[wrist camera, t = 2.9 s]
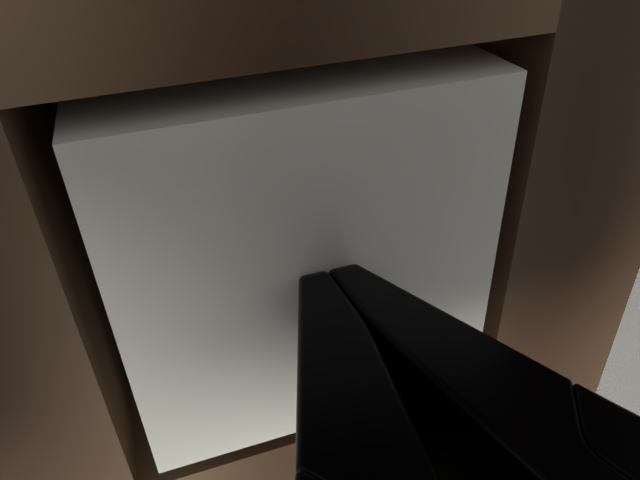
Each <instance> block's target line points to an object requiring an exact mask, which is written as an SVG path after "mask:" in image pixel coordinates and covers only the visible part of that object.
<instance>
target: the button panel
mask: <svg viewBox="0 0 640 480" xmlns="http://www.w3.org/2000/svg"><path fill="white" fill-rule="evenodd" d="M469 44H473V45H475V46H477V47H480V48H482V49H484V50H486V51H488V52H490V53H492V54H494V55H496V56H498V57H500V58H502V59H504V60H506V61H508V62H510V63H512V64H514V65H516V66H518V67H520V68H523V69H525V70H527V77H526V82H525V88H524V94H523V100H522V106H521V112H520V117H519V123H518V129H517V135H516V141H515V147H514V152H513V158H512V164H511V170H510V176H509V182H508V187H507V193H506V199H505V205H504V211H503V216H502V222H501V228H500V234H499V240H498V246H497V251H496V257H495V263H494V269H493V275H492V281H491V286H490V292H489V298H488V304H487V310H486V316H485V321H484V327H483V333H485V334H487V335H489V336H491V337H492V338H494V339H496V340H498V341H500V342H502V343H504V344H505V345H507V346H509V347H511V348H513V349H515V350H516V351H518V352H520V353H522V354H524V355H526V356H528V357H529V358H531V359H533V360H535V361H537V362H539V363H540V364H542V365H544V366H546V367H548V368H550V369H552V370H553V371H555V372H557V373H559V374H561V375H563V376H564V377H566V378H568V379H570V380H571V381H572V384H573V385H574V384H580V385H582V386H583V387H585V388H587V389H589V390H591V391H593V392H596V389H597V387H598V384H599V381H600V378H601V375H602V372H603V370H604V367H605V364H606V361H607V358H608V355H609V353H610V350H611V347H612V344H613V341H614V338H615V335H616V333H617V330H618V327H619V324H620V321H621V318H622V316H623V313H624V310H625V307H626V304H627V301H628V299H629V296H630V293H631V290H632V287H633V284H634V281H635V279H636V276H637V273H638V270H639V267H640V0H0V480H295V474H296V470H295V456H296V433H293V434H289V435H286V436H283V437H279V438H276V439H273V440H269V441H266V442H263V443H259V444H256V445H253V446H249V447H246V448H243V449H239V450H236V451H233V452H229V453H226V454H223V455H219V456H216V457H213V458H209V459H206V460H203V461H199V462H196V463H193V464H189V465H186V466H183V467H179V468H176V469H173V470H169V471H166V472H163V473H159V472H158V469H157V466H156V463H155V460H154V457H153V454H152V451H151V448H150V445H149V442H148V439H147V436H146V432H145V429H144V426H143V423H142V420H141V417H140V414H139V411H138V408H137V405H136V402H135V399H134V396H133V392H132V389H131V386H130V383H129V380H128V377H127V374H126V371H125V368H124V365H123V362H122V359H121V356H120V353H119V349H118V346H117V343H116V340H115V337H114V334H113V331H112V328H111V325H110V322H109V319H108V316H107V313H106V309H105V306H104V303H103V300H102V297H101V294H100V291H99V288H98V285H97V282H96V279H95V276H94V273H93V269H92V266H91V263H90V260H89V257H88V254H87V251H86V248H85V245H84V242H83V239H82V236H81V233H80V230H79V226H78V223H77V220H76V217H75V214H74V211H73V208H72V205H71V202H70V199H69V196H68V193H67V190H66V186H65V183H64V180H63V177H62V174H61V171H60V168H59V165H58V162H57V159H56V156H55V153H54V150H53V146H52V142H53V134H54V126H53V123H52V120H51V117H50V114H49V110H48V107H47V104H46V103H52V102H59V101H66V100H73V99H81V98H88V97H95V96H102V95H109V94H116V93H124V92H131V91H138V90H145V89H152V88H160V87H167V86H174V85H181V84H188V83H196V82H203V81H210V80H217V79H224V78H232V77H239V76H246V75H253V74H260V73H268V72H275V71H282V70H289V69H296V68H304V67H311V66H318V65H325V64H332V63H339V62H347V61H354V60H361V59H368V58H375V57H383V56H390V55H397V54H404V53H411V52H419V51H426V50H433V49H440V48H447V47H455V46H462V45H469Z"/></svg>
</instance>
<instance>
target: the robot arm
mask: <svg viewBox="0 0 640 480" xmlns="http://www.w3.org/2000/svg"><path fill="white" fill-rule="evenodd" d="M295 470H296V474H295V480H640V416H639V415H637V414H635V413H633V412H631V411H629V410H627V409H625V408H623V407H621V406H619V405H617V404H615V403H613V402H611V401H609V400H607V399H606V398H604V397H602V396H600V395H598V394H596V393H595V392H593V391H591V390H589V389H587V388H585V387H583V386H582V385H580V384H574V385H573V384H572V381H571V380H570V379H568V378H566V377H564V376H563V375H561V374H559V373H557V372H555V371H553V370H552V369H550V368H548V367H546V366H544V365H542V364H540V363H539V362H537V361H535V360H533V359H531V358H529V357H528V356H526V355H524V354H522V353H520V352H518V351H516V350H515V349H513V348H511V347H509V346H507V345H505V344H504V343H502V342H500V341H498V340H496V339H494V338H492V337H491V336H489V335H487V334H485V333H483V332H481V331H480V330H478V329H476V328H474V327H472V326H470V325H468V324H467V323H465V322H463V321H461V320H459V319H457V318H455V317H454V316H452V315H450V314H448V313H446V312H444V311H443V310H441V309H439V308H437V307H435V306H433V305H431V304H430V303H428V302H426V301H424V300H422V299H420V298H419V297H417V296H415V295H413V294H411V293H409V292H407V291H406V290H404V289H402V288H400V287H398V286H396V285H395V284H393V283H391V282H389V281H387V280H385V279H383V278H382V277H380V276H378V275H376V274H374V273H372V272H370V271H369V270H367V269H365V268H363V267H361V266H359V265H356V264H351V265H347V266H342V267H338V268H334V269H331V270H330V271H329V272H326V271H321V272H316V273H312V274H308V275H303V276H301V277H300V278H299V289H298V345H297V401H296V456H295Z"/></svg>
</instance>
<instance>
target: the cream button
mask: <svg viewBox="0 0 640 480" xmlns="http://www.w3.org/2000/svg"><path fill="white" fill-rule="evenodd" d="M526 77H527V70H525V69H523V68H520V67H518V66H516V65H514V64H512V63H510V62H508V61H506V60H504V59H502V58H500V57H498V56H496V55H494V54H492V53H490V52H488V51H486V50H484V49H482V48H480V47H477V46H475V45H473V44H469V45H462V46H455V47H447V48H440V49H433V50H426V51H419V52H411V53H404V54H397V55H390V56H383V57H375V58H368V59H361V60H354V61H347V62H339V63H332V64H325V65H318V66H311V67H304V68H296V69H289V70H282V71H275V72H268V73H260V74H253V75H246V76H239V77H232V78H224V79H217V80H210V81H203V82H196V83H188V84H181V85H174V86H167V87H160V88H152V89H145V90H138V91H131V92H124V93H116V94H109V95H102V96H95V97H88V98H81V99H73V100H66V101H59V102H58V104H57V112H56V119H55V127H54V134H53V142H52V146H53V150H54V153H55V156H56V159H57V162H58V165H59V168H60V171H61V174H62V177H63V180H64V183H65V186H66V190H67V193H68V196H69V199H70V202H71V205H72V208H73V211H74V214H75V217H76V220H77V223H78V226H79V230H80V233H81V236H82V239H83V242H84V245H85V248H86V251H87V254H88V257H89V260H90V263H91V266H92V269H93V273H94V276H95V279H96V282H97V285H98V288H99V291H100V294H101V297H102V300H103V303H104V306H105V309H106V313H107V316H108V319H109V322H110V325H111V328H112V331H113V334H114V337H115V340H116V343H117V346H118V349H119V353H120V356H121V359H122V362H123V365H124V368H125V371H126V374H127V377H128V380H129V383H130V386H131V389H132V392H133V396H134V399H135V402H136V405H137V408H138V411H139V414H140V417H141V420H142V423H143V426H144V429H145V432H146V436H147V439H148V442H149V445H150V448H151V451H152V454H153V457H154V460H155V463H156V466H157V469H158V472H159V473H163V472H166V471H169V470H173V469H176V468H179V467H183V466H186V465H189V464H193V463H196V462H199V461H203V460H206V459H209V458H213V457H216V456H219V455H223V454H226V453H229V452H233V451H236V450H239V449H243V448H246V447H249V446H253V445H256V444H259V443H263V442H266V441H269V440H273V439H276V438H279V437H283V436H286V435H289V434H293V433H296V401H297V345H298V289H299V278H300V277H301V276H303V275H308V274H312V273H316V272H321V271H326V272H329V271H330V270H331V269H334V268H338V267H342V266H347V265H351V264H356V265H359V266H361V267H363V268H365V269H367V270H369V271H370V272H372V273H374V274H376V275H378V276H380V277H382V278H383V279H385V280H387V281H389V282H391V283H393V284H395V285H396V286H398V287H400V288H402V289H404V290H406V291H407V292H409V293H411V294H413V295H415V296H417V297H419V298H420V299H422V300H424V301H426V302H428V303H430V304H431V305H433V306H435V307H437V308H439V309H441V310H443V311H444V312H446V313H448V314H450V315H452V316H454V317H455V318H457V319H459V320H461V321H463V322H465V323H467V324H468V325H470V326H472V327H474V328H476V329H478V330H480V331H481V332H483V327H484V321H485V316H486V310H487V304H488V298H489V292H490V286H491V281H492V275H493V269H494V263H495V257H496V251H497V246H498V240H499V234H500V228H501V222H502V216H503V211H504V205H505V199H506V193H507V187H508V182H509V176H510V170H511V164H512V158H513V152H514V147H515V141H516V135H517V129H518V123H519V117H520V112H521V106H522V100H523V94H524V88H525V82H526Z"/></svg>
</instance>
